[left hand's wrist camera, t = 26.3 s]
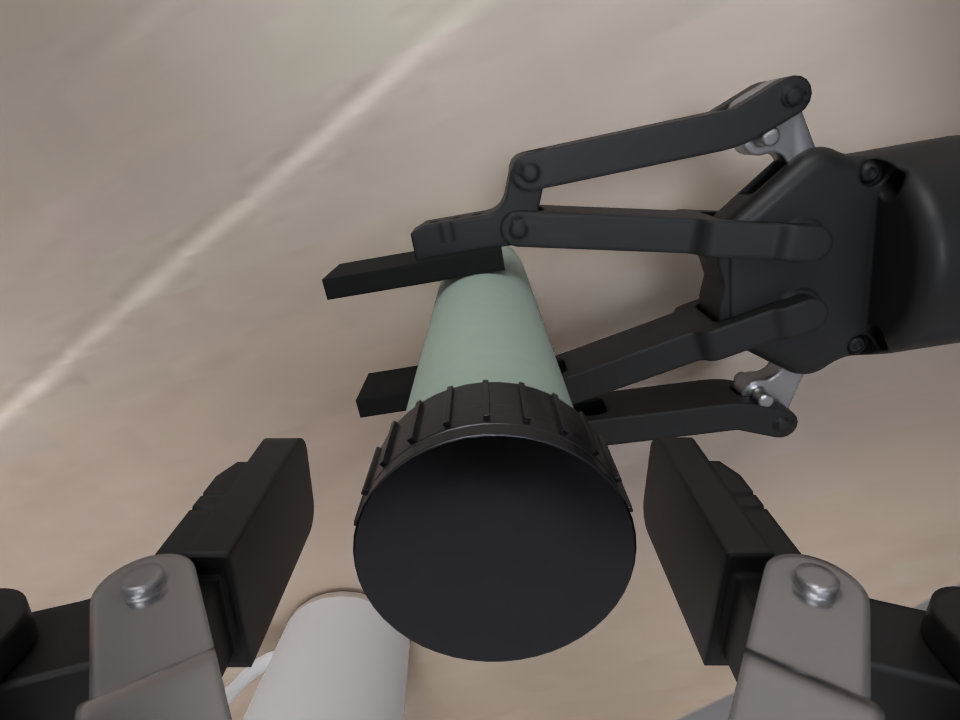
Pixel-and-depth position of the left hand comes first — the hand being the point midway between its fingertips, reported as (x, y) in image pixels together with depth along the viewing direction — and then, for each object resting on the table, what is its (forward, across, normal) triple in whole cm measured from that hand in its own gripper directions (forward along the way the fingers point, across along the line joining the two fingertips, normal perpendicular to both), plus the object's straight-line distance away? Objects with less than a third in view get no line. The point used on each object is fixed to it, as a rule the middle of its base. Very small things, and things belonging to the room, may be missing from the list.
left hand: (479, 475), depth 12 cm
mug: (+17, -10, -23) cm, 30 cm away
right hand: (+11, -5, -1) cm, 12 cm away
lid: (-2, 0, 0) cm, 2 cm away
